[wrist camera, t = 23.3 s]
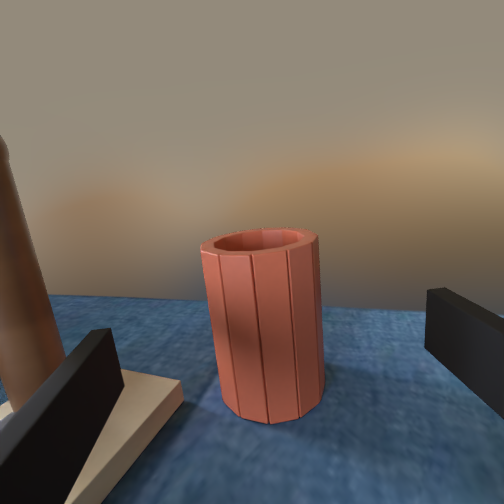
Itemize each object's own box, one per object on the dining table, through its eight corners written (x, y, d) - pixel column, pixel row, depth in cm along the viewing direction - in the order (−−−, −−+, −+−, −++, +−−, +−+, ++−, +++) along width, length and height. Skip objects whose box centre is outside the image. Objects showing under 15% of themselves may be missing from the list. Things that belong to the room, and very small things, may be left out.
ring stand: (-106, 506, 15) (-314, 118, 10) (76, 375, 24) (8, 137, 19) (26, 597, 11) (-214, 40, 6) (184, 400, 20) (130, 109, 15)
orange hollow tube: (203, 409, 19) (176, 254, 16) (245, 348, 25) (231, 228, 22) (313, 435, 16) (302, 255, 14) (330, 360, 22) (325, 225, 20)
